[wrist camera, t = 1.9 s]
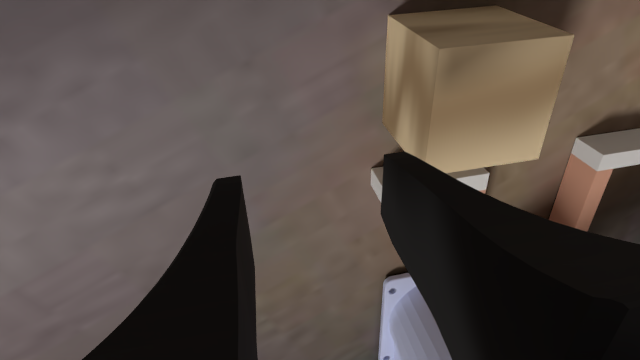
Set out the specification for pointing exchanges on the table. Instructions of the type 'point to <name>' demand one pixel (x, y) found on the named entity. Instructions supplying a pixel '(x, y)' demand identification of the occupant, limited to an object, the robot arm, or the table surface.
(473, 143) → the oak block
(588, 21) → the table surface
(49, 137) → the table surface
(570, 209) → the cross-shaped barrier wall
